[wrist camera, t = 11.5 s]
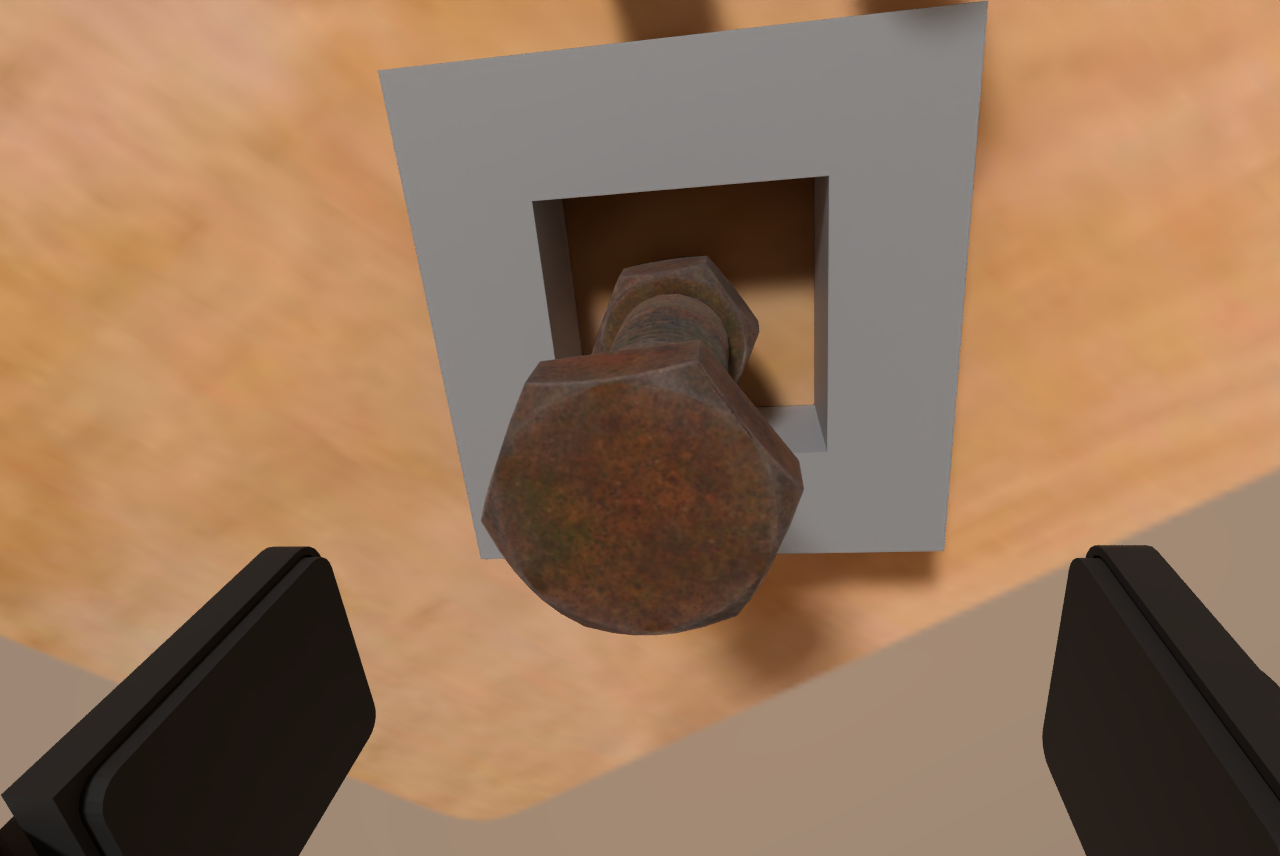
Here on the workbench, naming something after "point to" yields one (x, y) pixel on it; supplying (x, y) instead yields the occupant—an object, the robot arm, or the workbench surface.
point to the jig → (706, 156)
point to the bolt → (646, 463)
